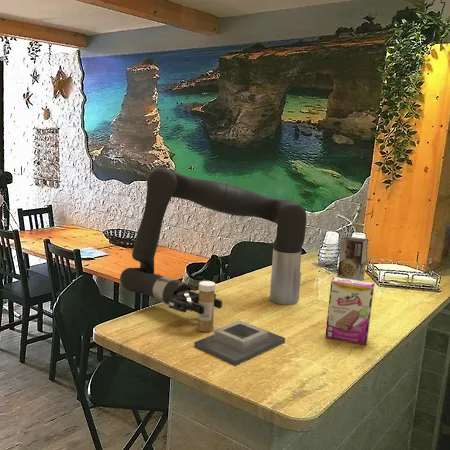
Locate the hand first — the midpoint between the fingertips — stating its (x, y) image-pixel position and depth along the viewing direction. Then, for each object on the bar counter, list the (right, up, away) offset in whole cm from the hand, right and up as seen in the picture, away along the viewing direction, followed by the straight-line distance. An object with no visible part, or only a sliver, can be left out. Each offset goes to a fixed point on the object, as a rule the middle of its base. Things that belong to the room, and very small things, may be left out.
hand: (212, 307), depth 134 cm
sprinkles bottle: (-2, -7, +3) cm, 8 cm away
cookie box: (+53, +1, +59) cm, 79 cm away
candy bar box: (+37, -9, +1) cm, 38 cm away
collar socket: (+7, -9, -6) cm, 13 cm away
